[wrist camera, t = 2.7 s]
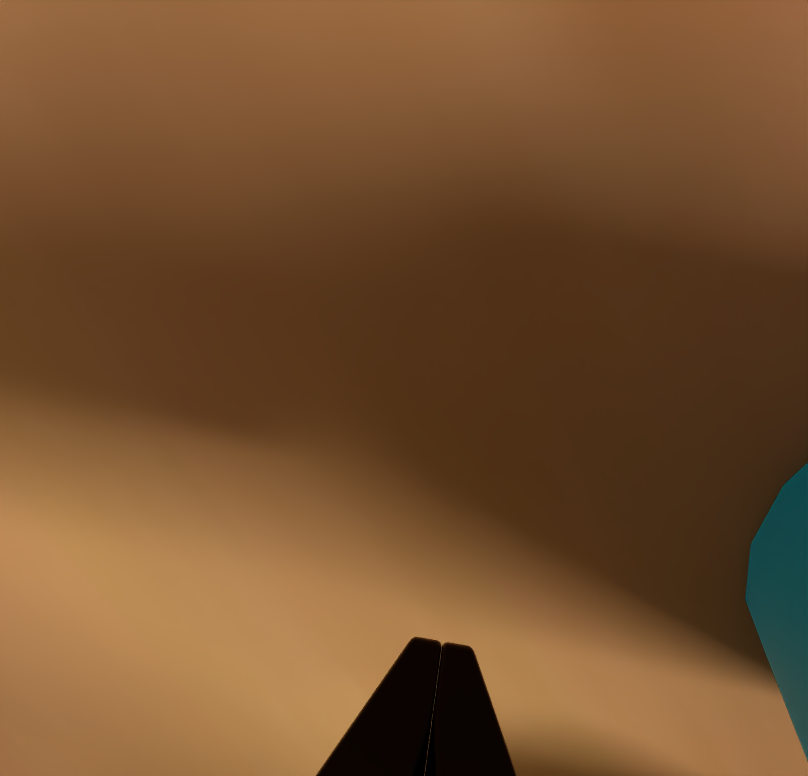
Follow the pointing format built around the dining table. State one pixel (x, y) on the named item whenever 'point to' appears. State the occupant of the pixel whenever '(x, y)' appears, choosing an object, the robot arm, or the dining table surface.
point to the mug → (784, 595)
